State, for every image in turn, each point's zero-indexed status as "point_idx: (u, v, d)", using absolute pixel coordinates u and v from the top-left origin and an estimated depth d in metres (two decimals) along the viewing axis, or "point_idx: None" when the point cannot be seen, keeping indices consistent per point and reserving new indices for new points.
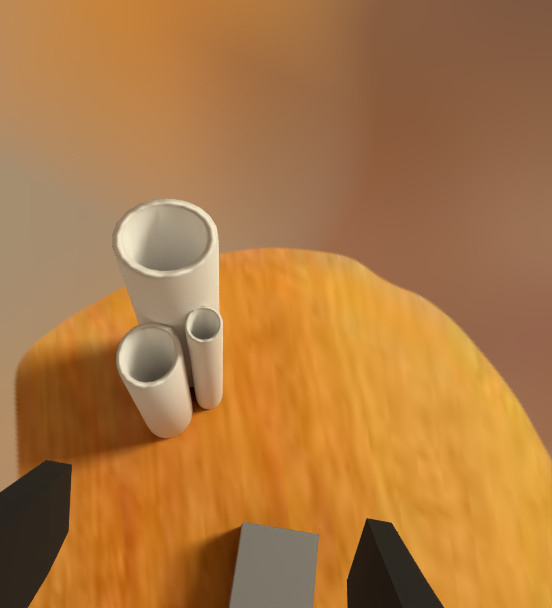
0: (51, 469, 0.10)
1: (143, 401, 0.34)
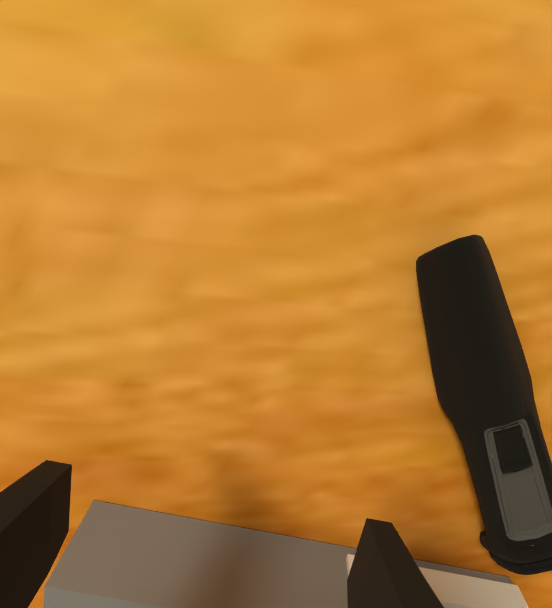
0: (51, 469, 0.10)
1: None
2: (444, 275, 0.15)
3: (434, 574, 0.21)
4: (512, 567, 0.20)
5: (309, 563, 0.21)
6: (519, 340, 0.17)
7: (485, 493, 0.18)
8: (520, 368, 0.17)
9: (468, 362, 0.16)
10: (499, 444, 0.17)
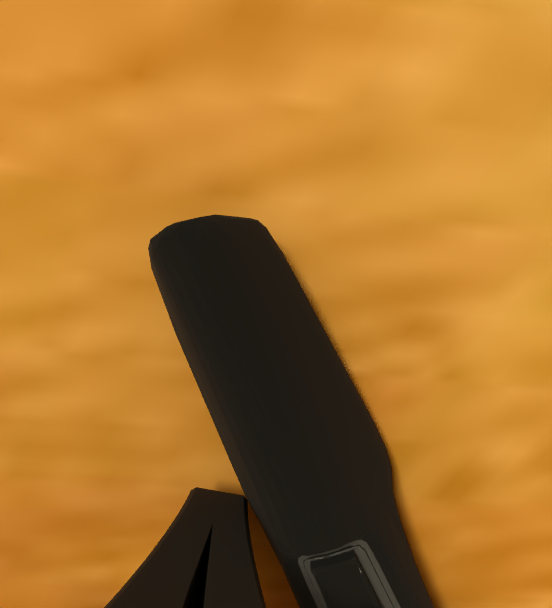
0: (207, 497, 0.10)
1: None
2: (170, 294, 0.08)
3: None
4: None
5: None
6: (358, 399, 0.10)
7: None
8: (350, 452, 0.10)
9: (243, 449, 0.09)
10: (322, 582, 0.10)
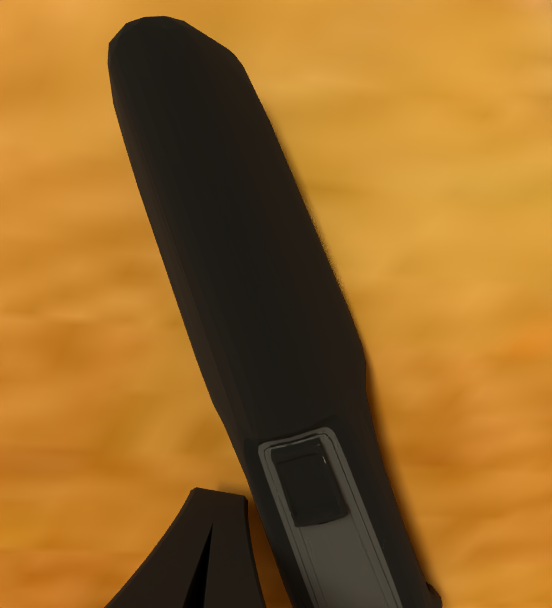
0: (207, 497, 0.10)
1: None
2: (129, 115, 0.07)
3: None
4: None
5: None
6: (334, 280, 0.09)
7: (277, 557, 0.10)
8: (322, 329, 0.09)
9: (204, 310, 0.08)
10: (283, 472, 0.09)
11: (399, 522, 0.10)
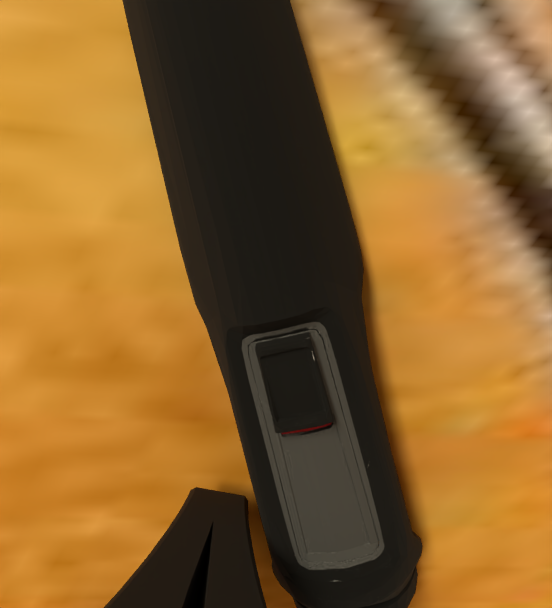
0: (206, 497, 0.10)
1: None
2: None
3: None
4: None
5: None
6: (337, 168, 0.09)
7: (253, 472, 0.09)
8: (321, 213, 0.08)
9: (194, 171, 0.07)
10: (267, 370, 0.08)
11: (386, 443, 0.09)
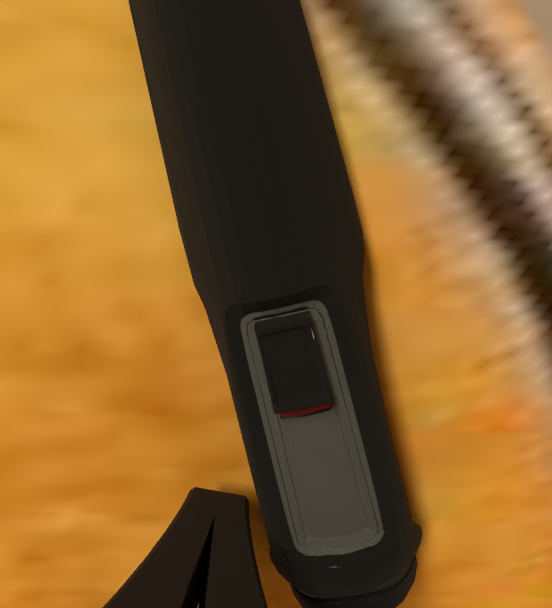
0: (206, 497, 0.10)
1: None
2: None
3: None
4: (305, 603, 0.11)
5: None
6: (339, 146, 0.08)
7: (251, 455, 0.09)
8: (322, 189, 0.08)
9: (193, 144, 0.07)
10: (266, 349, 0.08)
11: (386, 427, 0.09)
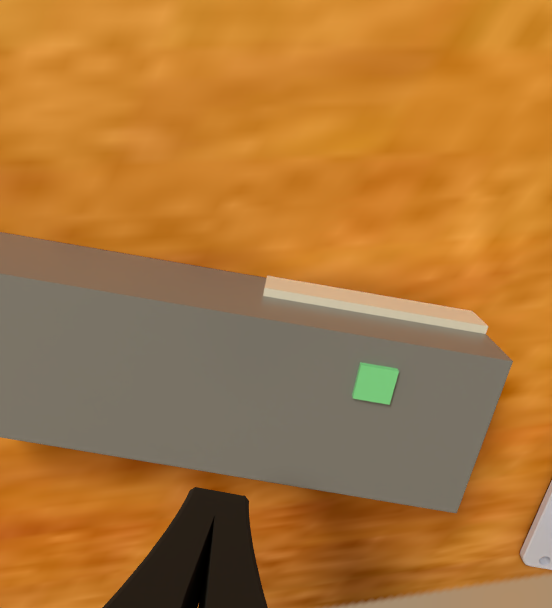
0: (206, 497, 0.10)
1: None
2: None
3: (371, 295, 0.18)
4: None
5: (219, 279, 0.17)
6: None
7: None
8: None
9: None
10: None
11: None
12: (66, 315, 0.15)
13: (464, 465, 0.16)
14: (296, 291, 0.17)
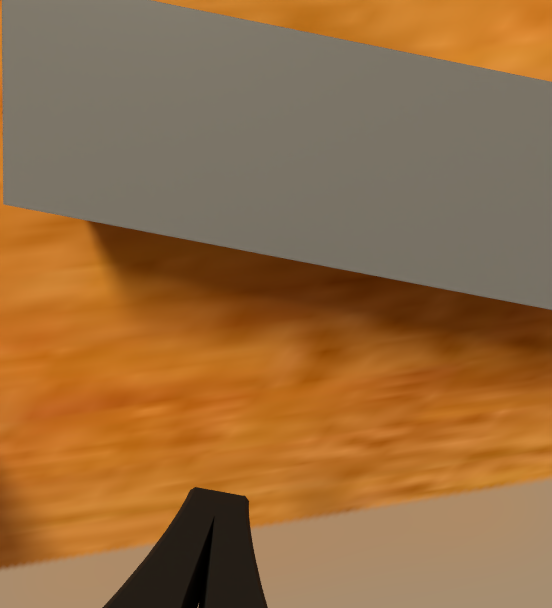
0: (206, 497, 0.10)
1: None
2: None
3: None
4: None
5: None
6: None
7: None
8: None
9: None
10: None
11: None
12: (229, 59, 0.12)
13: None
14: None
